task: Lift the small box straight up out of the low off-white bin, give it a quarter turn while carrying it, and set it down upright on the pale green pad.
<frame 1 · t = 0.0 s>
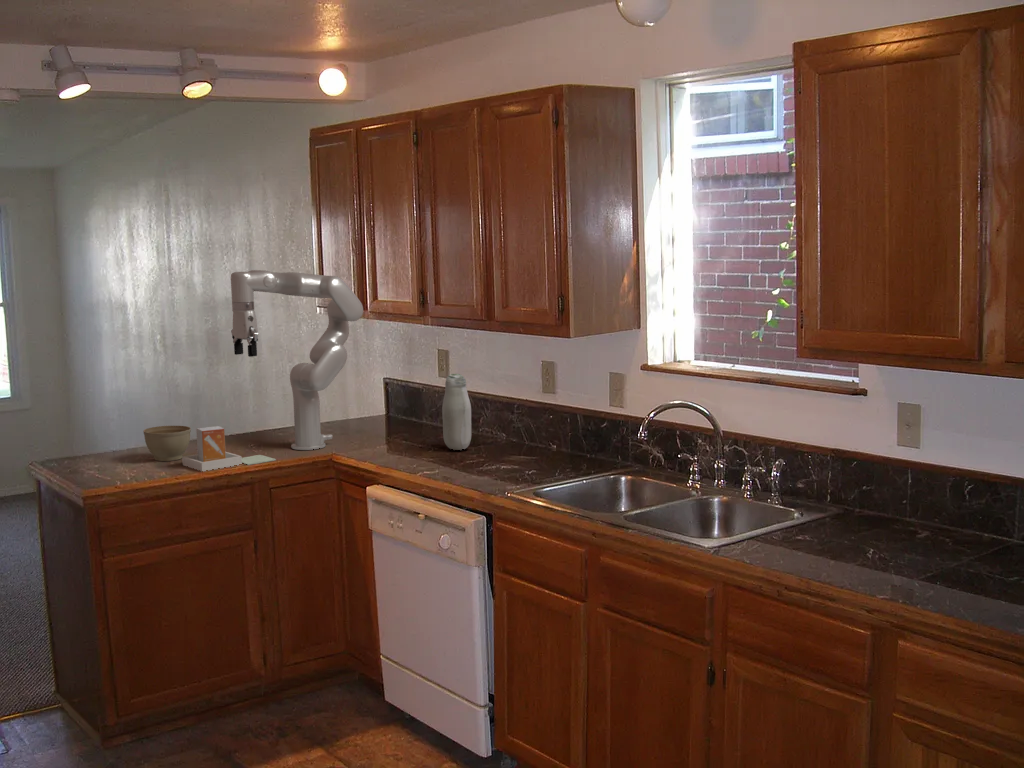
hand: (245, 355, 382), 37 cm above the counter, tool pointing down, fingers open, 9 cm apart
planter bowl: (169, 459, 386), on the counter
pad: (254, 460, 381), on the counter
bin: (212, 464, 375), on the counter
small box: (212, 465, 375), resting in bin
glass bottle: (457, 450, 393), on the counter
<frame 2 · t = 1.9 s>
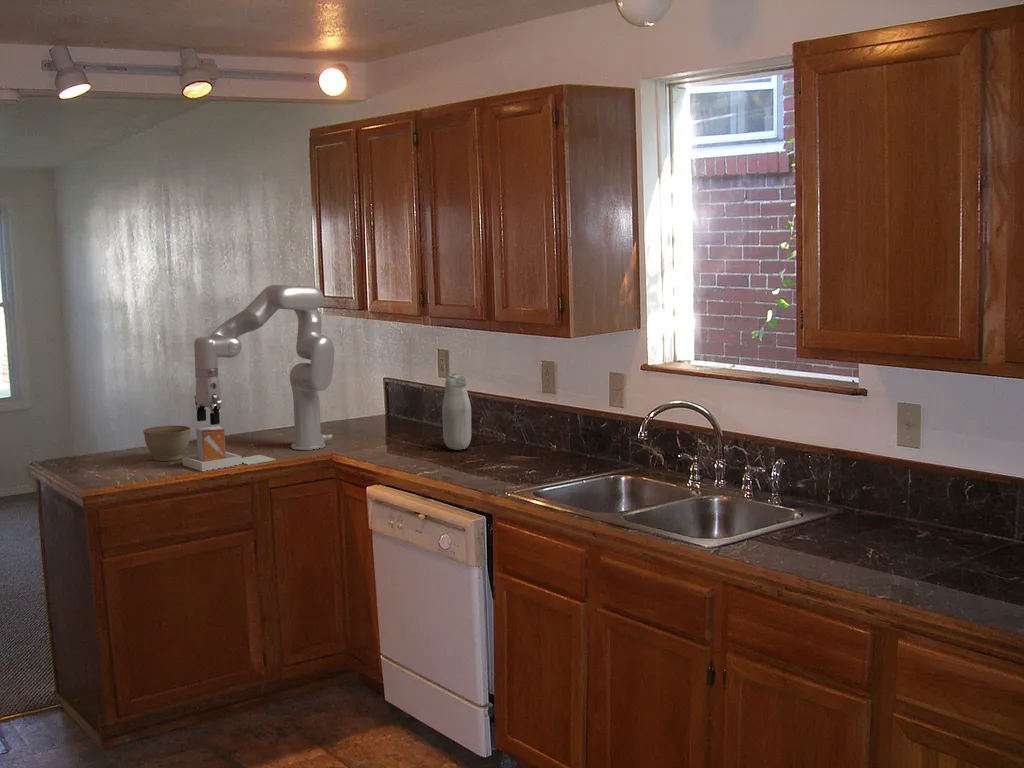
hand: (208, 422, 372), 15 cm above the counter, tool pointing down, fingers open, 9 cm apart
nothing on the counter moved.
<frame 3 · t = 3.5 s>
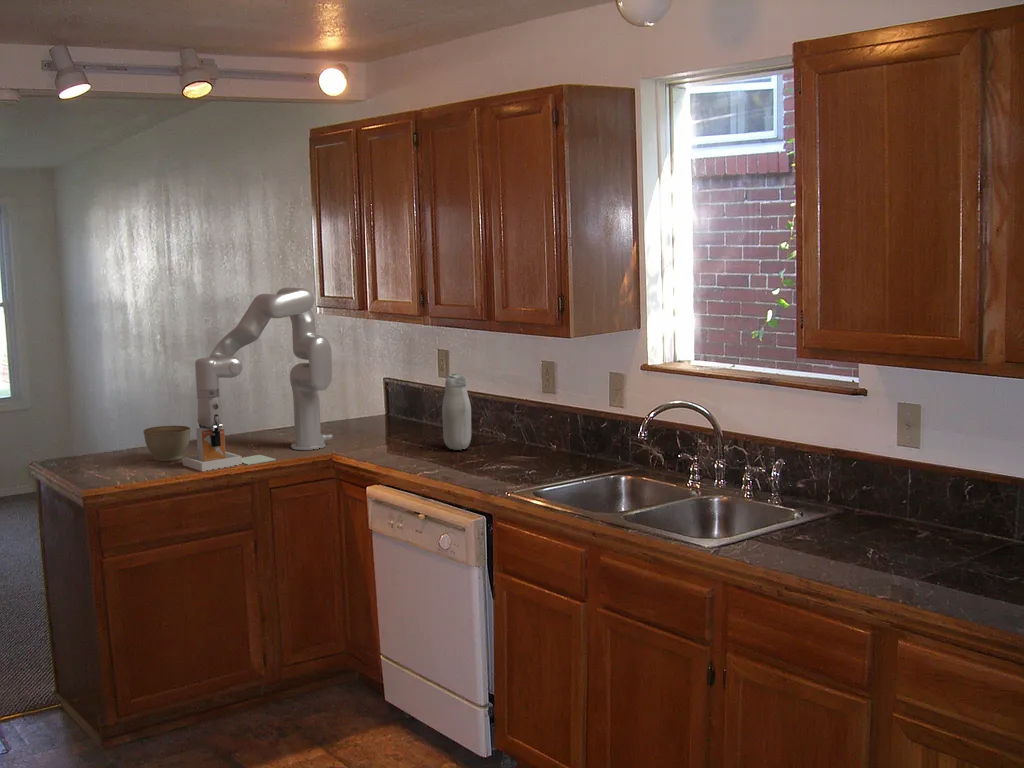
hand: (211, 444, 374), 7 cm above the counter, tool pointing down, fingers closed on small box, 6 cm apart
small box: (212, 465, 375), resting in bin, touching gripper
everything else where it was.
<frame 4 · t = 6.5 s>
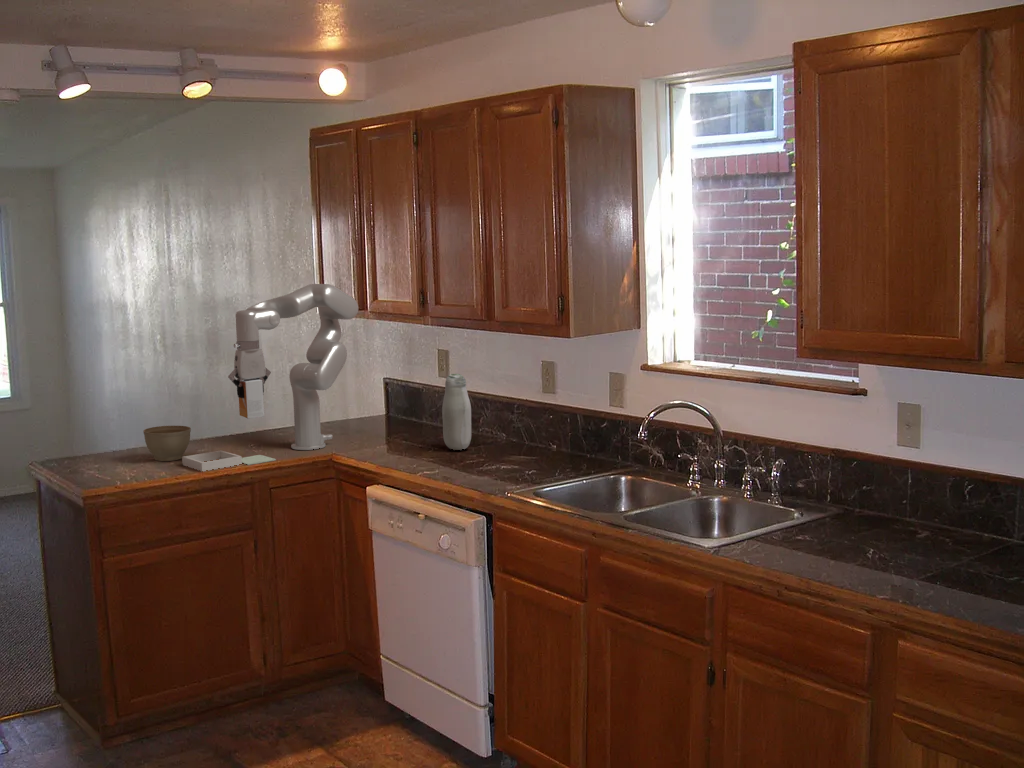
hand: (250, 396, 378), 23 cm above the counter, tool pointing down, fingers closed on small box, 6 cm apart
small box: (251, 416, 379), point 16 cm above the counter, touching gripper
everything else where it was.
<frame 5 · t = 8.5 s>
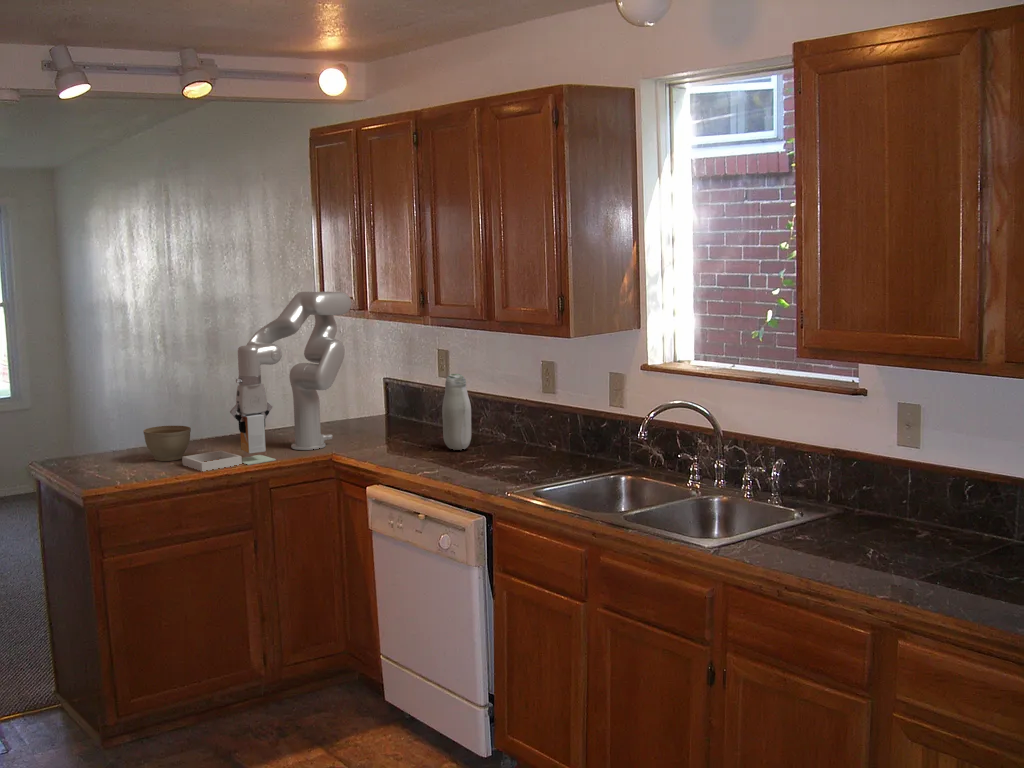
hand: (252, 430, 379), 11 cm above the counter, tool pointing down, fingers closed on small box, 6 cm apart
small box: (253, 451, 380), point 3 cm above the counter, touching gripper
everything else where it was.
when the fingers open (9 cm above the counter, at t = 9.9 s): small box drops 1 cm, resting on pad.
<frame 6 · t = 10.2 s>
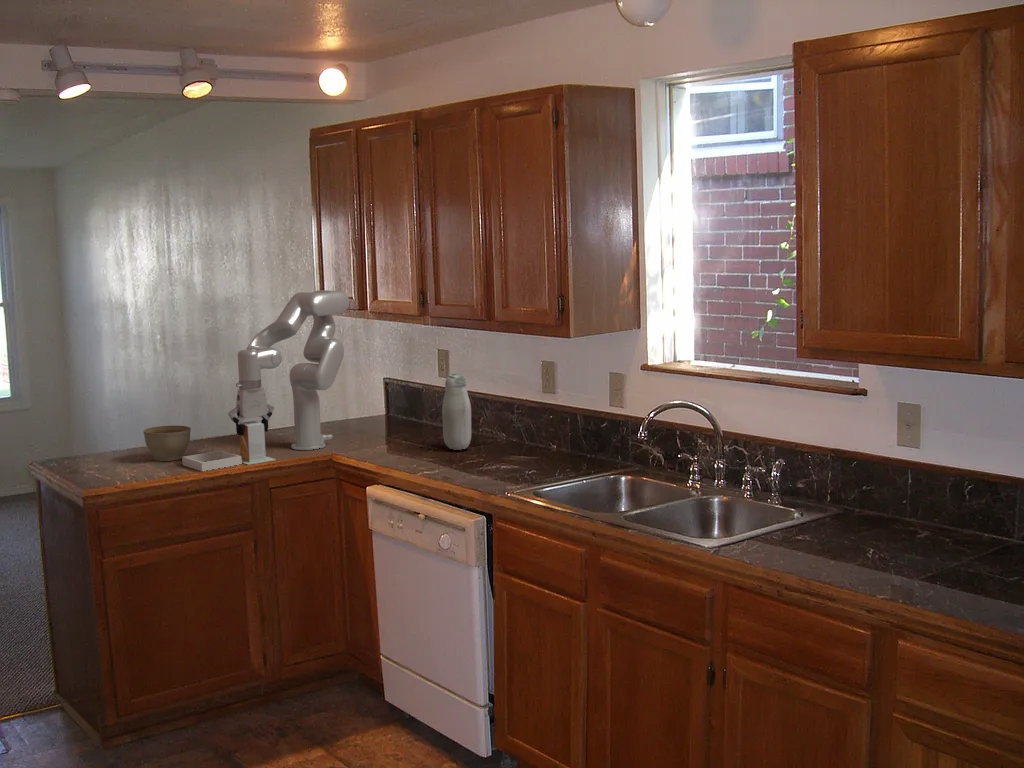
hand: (252, 433, 380), 10 cm above the counter, tool pointing down, fingers open, 9 cm apart
small box: (253, 459, 381), resting on pad
everything else where it was.
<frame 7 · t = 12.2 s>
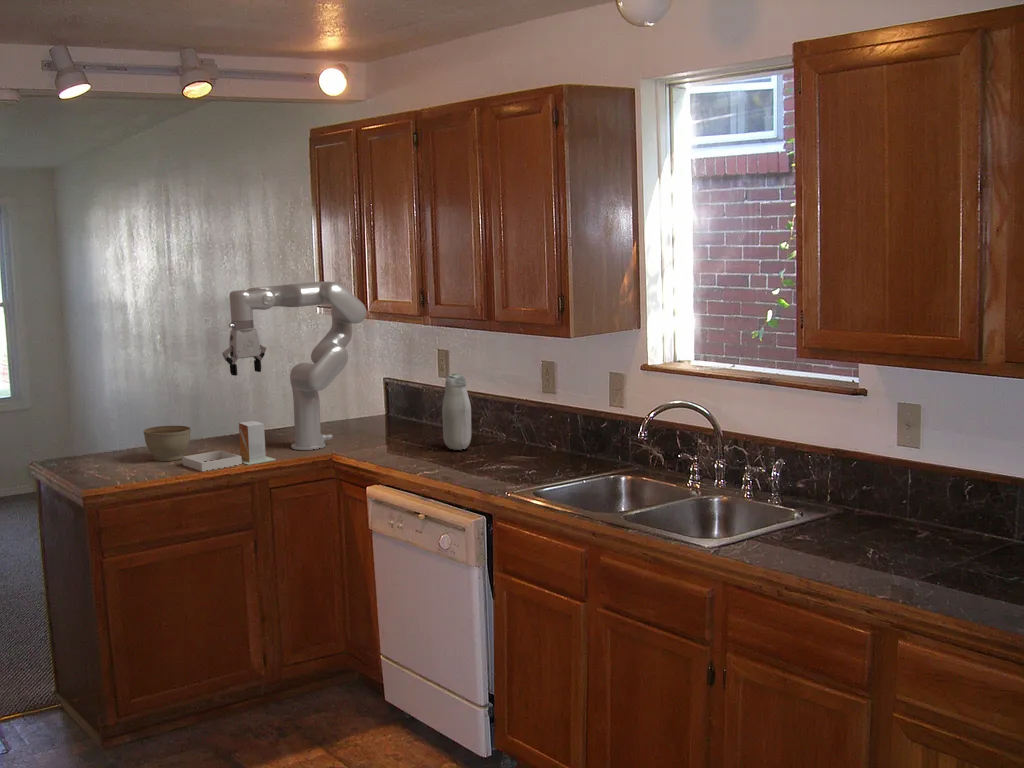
hand: (246, 373, 383), 30 cm above the counter, tool pointing down, fingers open, 9 cm apart
nothing on the counter moved.
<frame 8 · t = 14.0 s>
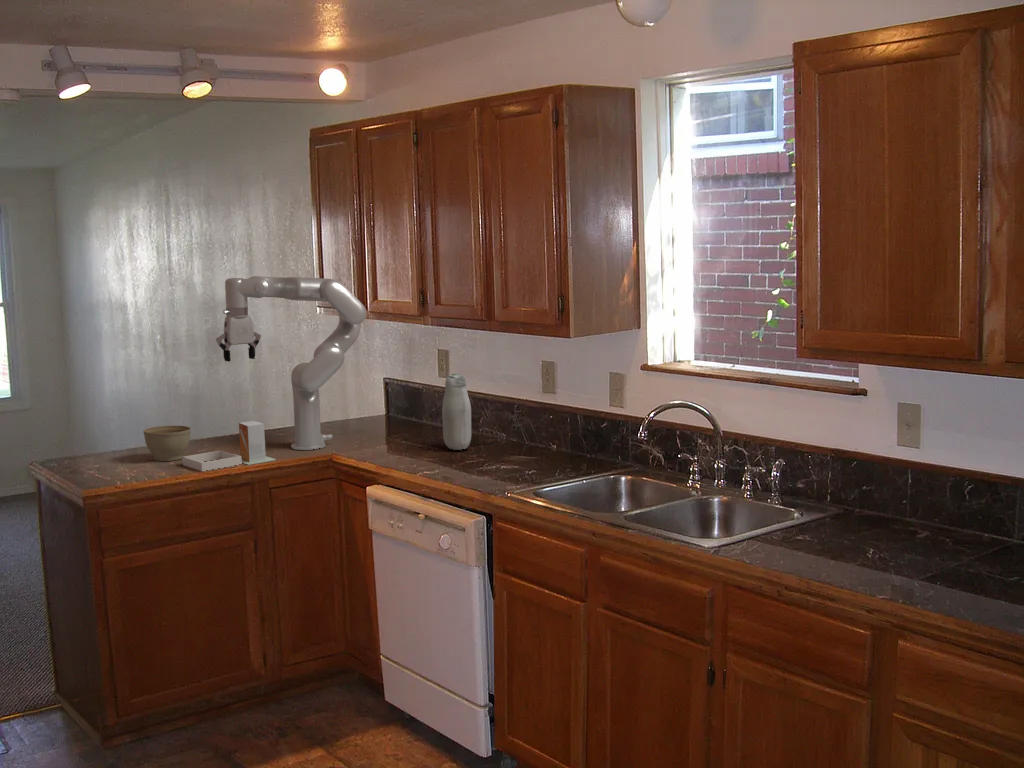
hand: (239, 359, 389), 34 cm above the counter, tool pointing down, fingers open, 9 cm apart
nothing on the counter moved.
at the end: small box inside the target area on the pad (0.3 cm from its centre), point 0.2 cm above the pad's base; small box tilted 0°; the gripper is holding nothing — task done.
